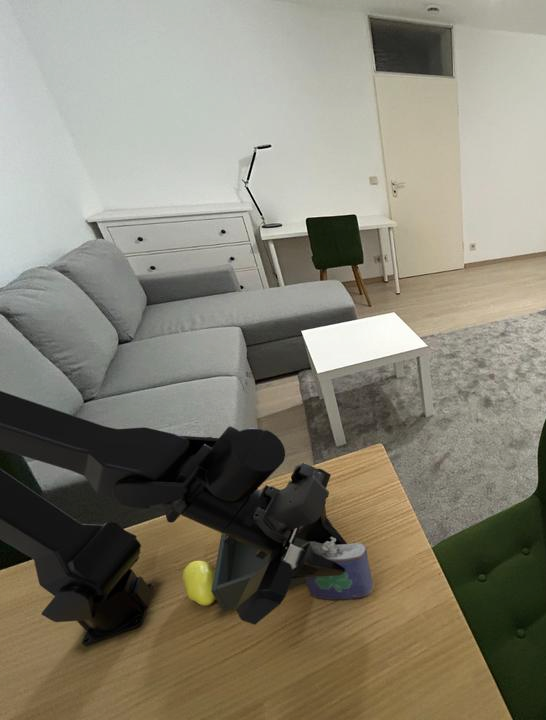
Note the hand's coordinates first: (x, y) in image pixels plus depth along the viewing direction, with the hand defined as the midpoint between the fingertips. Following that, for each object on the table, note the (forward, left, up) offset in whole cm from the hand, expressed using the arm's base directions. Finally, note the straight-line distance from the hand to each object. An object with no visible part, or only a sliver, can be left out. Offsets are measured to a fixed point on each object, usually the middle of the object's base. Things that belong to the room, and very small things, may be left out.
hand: (345, 561), depth 53 cm
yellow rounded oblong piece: (-23, +10, -7) cm, 25 cm away
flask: (-2, +1, -7) cm, 7 cm away
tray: (-11, +12, -9) cm, 19 cm away
